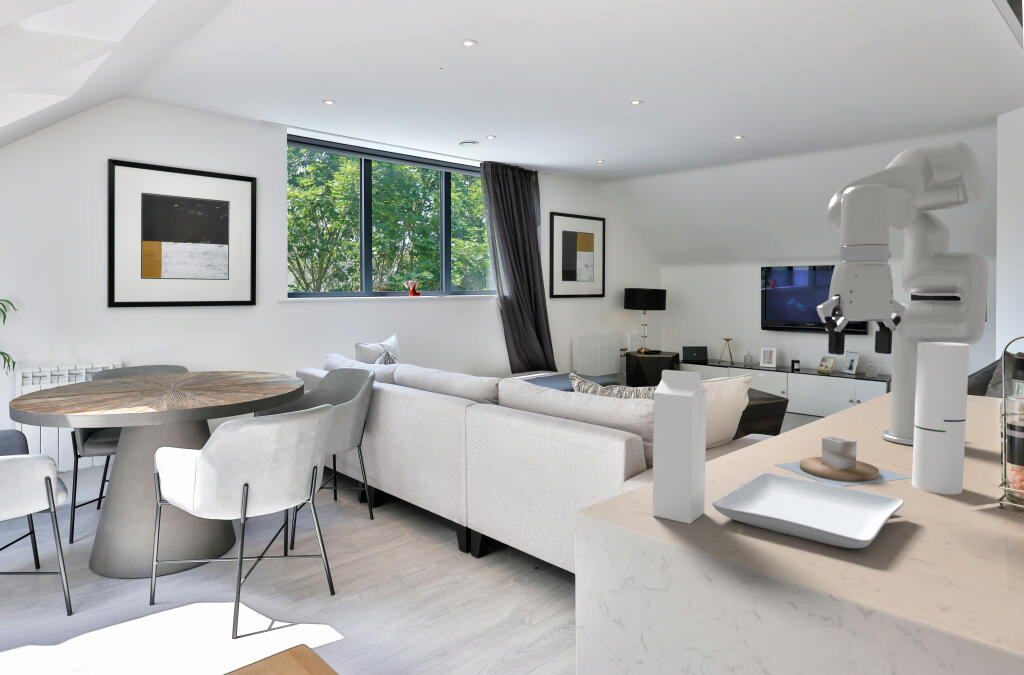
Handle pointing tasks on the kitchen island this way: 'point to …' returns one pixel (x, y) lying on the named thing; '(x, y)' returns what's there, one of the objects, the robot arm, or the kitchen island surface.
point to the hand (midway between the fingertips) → (859, 353)
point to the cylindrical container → (940, 417)
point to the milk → (679, 447)
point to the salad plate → (809, 509)
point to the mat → (883, 476)
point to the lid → (839, 462)
